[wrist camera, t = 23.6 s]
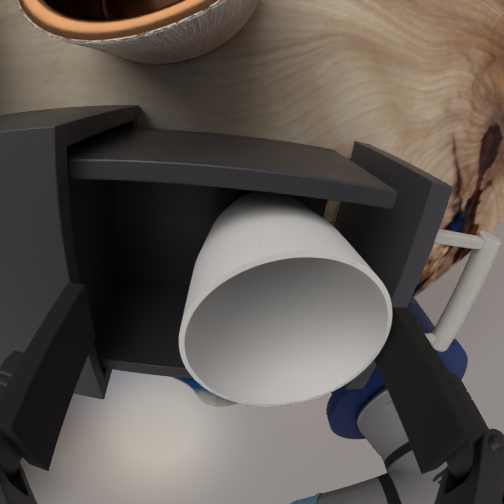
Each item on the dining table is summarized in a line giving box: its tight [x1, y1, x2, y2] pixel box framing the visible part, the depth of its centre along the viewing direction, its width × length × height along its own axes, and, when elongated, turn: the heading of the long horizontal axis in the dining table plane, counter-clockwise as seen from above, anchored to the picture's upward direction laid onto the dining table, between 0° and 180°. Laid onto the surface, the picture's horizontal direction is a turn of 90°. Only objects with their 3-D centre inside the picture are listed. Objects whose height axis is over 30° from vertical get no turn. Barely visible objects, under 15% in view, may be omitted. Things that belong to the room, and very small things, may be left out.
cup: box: [179, 191, 392, 406], centre depth 15 cm, size 8×8×10 cm
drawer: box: [67, 129, 501, 390], centre depth 17 cm, size 23×13×9 cm, turn 82°
